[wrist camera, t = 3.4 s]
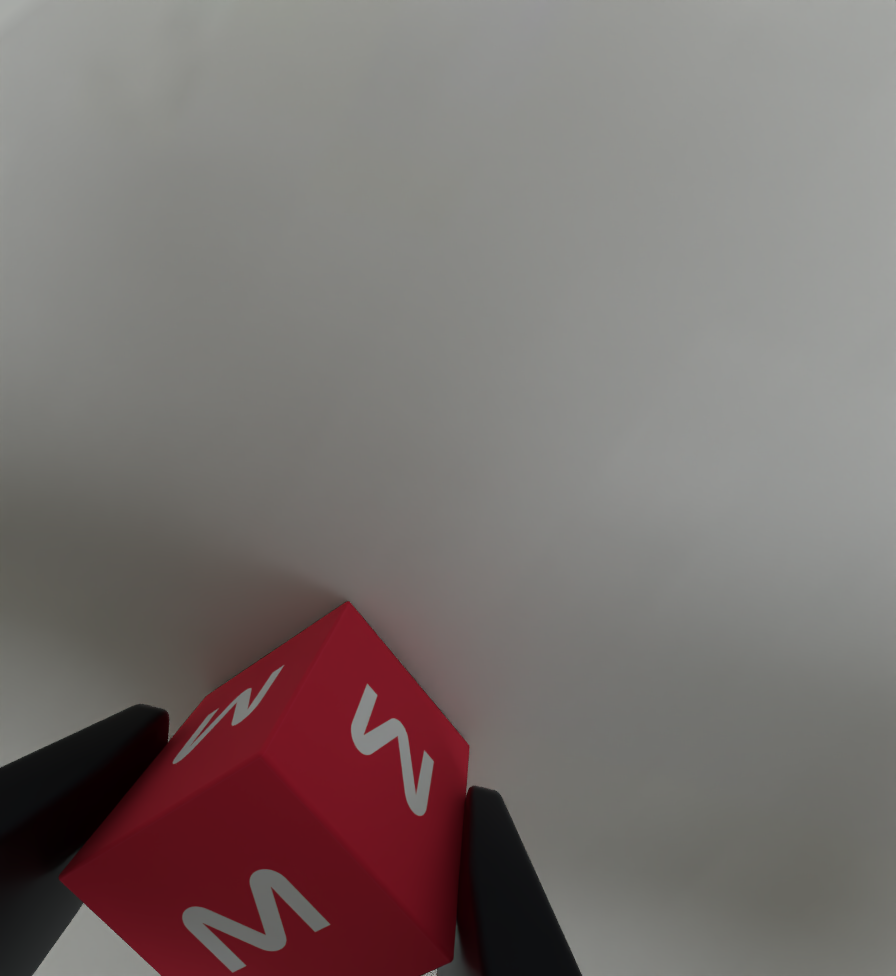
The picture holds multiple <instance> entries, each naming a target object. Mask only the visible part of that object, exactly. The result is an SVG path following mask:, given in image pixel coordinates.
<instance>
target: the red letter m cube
mask: <svg viewBox="0 0 896 976" xmlns="http://www.w3.org/2000/svg"><path fill="white" fill-rule="evenodd" d="M468 760H469V745H468V743H467V742H466V741H465V740H464V739H463V737H462V736H461V735H460V734H459V733H458V731H457V730H456V729H455V728H454V727H453V725H452V724H451V723H450V722H449V721H448V719H447V718H446V717H445V716H444V715H443V713H442V712H441V711H440V710H439V709H438V707H437V706H436V705H435V704H434V702H433V701H432V700H431V699H430V698H429V696H428V695H427V694H426V693H425V692H424V690H423V689H422V688H421V687H420V686H419V684H418V683H417V682H416V681H415V680H414V678H413V677H412V676H411V675H410V674H409V672H408V671H407V670H406V669H405V668H404V666H403V665H402V664H401V663H400V662H399V660H398V659H397V658H396V657H395V656H394V654H393V653H392V652H391V651H390V650H389V648H388V647H387V646H386V645H385V644H384V642H383V641H382V640H381V639H380V638H379V636H378V635H377V634H376V633H375V632H374V630H373V629H372V628H371V627H370V626H369V624H368V623H367V622H366V621H365V620H364V618H363V617H362V616H361V615H360V614H359V612H358V611H357V610H356V609H355V608H354V606H353V605H352V604H351V603H350V602H349V601H347V602H345V603H344V604H342V605H341V606H339V607H338V608H336V609H335V610H333V611H332V612H330V613H329V614H327V615H326V616H324V617H323V618H321V619H320V620H318V621H317V622H315V623H314V624H312V625H311V626H309V627H308V628H306V629H305V630H303V631H302V632H300V633H299V634H297V635H296V636H294V637H293V638H292V639H290V640H289V641H287V642H286V643H284V644H283V645H281V646H280V647H278V648H277V649H275V650H274V651H272V652H271V653H269V654H268V655H266V656H265V657H263V658H262V659H260V660H259V661H257V662H256V663H254V664H253V665H251V666H250V667H248V668H247V669H245V670H244V671H242V672H241V673H239V674H238V675H237V676H235V677H234V678H232V679H231V680H229V681H228V682H226V683H225V684H223V685H222V686H220V687H219V688H217V689H216V690H214V691H213V692H211V693H210V694H208V695H207V696H206V697H205V698H204V699H203V700H202V702H201V703H200V704H199V705H198V707H197V708H196V709H195V710H194V711H193V713H192V714H191V715H190V716H189V717H188V719H187V720H186V721H185V722H184V724H183V725H182V726H181V727H180V728H179V730H178V731H177V732H176V733H175V735H174V736H173V737H172V738H171V739H170V741H169V742H168V743H167V744H166V746H165V747H164V748H163V749H162V751H161V752H160V753H159V754H158V755H157V757H156V758H155V759H154V760H153V761H152V763H151V764H150V765H149V766H148V768H147V769H146V770H145V771H144V772H143V774H142V775H141V776H140V777H139V779H138V780H137V781H136V782H135V783H134V785H133V786H132V787H131V788H130V790H129V791H128V792H127V793H126V794H125V796H124V797H123V798H122V799H121V800H120V802H119V803H118V804H117V805H116V807H115V808H114V809H113V810H112V811H111V813H110V814H109V815H108V816H107V818H106V819H105V820H104V821H103V822H102V824H101V825H100V826H99V827H98V828H97V830H96V831H95V832H94V833H93V834H92V836H91V837H90V838H89V839H88V841H87V842H86V843H85V844H84V845H83V847H82V848H81V849H80V850H79V851H78V853H77V854H76V855H75V856H74V858H73V859H72V860H71V861H70V862H69V864H68V865H67V866H66V867H65V869H64V870H63V871H62V872H61V873H60V875H59V880H60V881H61V882H62V883H63V884H64V885H65V886H66V887H67V888H68V889H69V890H70V891H71V892H73V893H74V894H75V895H76V896H77V897H78V898H79V899H80V900H81V901H82V902H83V903H84V904H85V905H86V906H87V907H89V908H90V909H91V910H92V911H93V912H94V913H95V914H96V915H97V916H98V917H99V918H100V919H101V920H102V921H104V922H105V923H106V924H107V925H108V926H109V927H110V928H111V929H112V930H113V931H114V932H115V933H116V934H117V935H118V936H120V937H121V938H122V939H123V940H124V941H125V942H126V943H127V944H128V945H129V946H130V947H131V948H132V949H133V950H135V951H136V952H137V953H138V954H139V955H140V956H141V957H142V958H143V959H144V960H145V961H146V962H147V963H148V964H149V965H151V966H152V967H153V968H154V969H155V970H156V971H157V972H158V973H159V974H160V975H161V976H421V975H423V974H425V973H428V972H430V971H432V970H435V969H437V968H439V967H441V966H444V965H446V964H448V963H451V962H452V961H453V958H454V946H455V933H456V919H457V899H458V883H459V870H460V857H461V844H462V831H463V818H464V805H465V799H466V786H467V773H468Z"/></svg>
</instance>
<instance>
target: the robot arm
mask: <svg viewBox="0 0 896 976" xmlns="http://www.w3.org/2000/svg"><path fill="white" fill-rule="evenodd" d="M168 732H169V714H168V712H167V711H166V710H164V709H162V708H158V707H153V706H149V705H145V704H137V705H134V706H132V707H130V708H127V709H125V710H123V711H121V712H119V713H117V714H114V715H112V716H110V717H108V718H106V719H104V720H102V721H99V722H97V723H95V724H93V725H91V726H89V727H87V728H84V729H82V730H80V731H78V732H76V733H74V734H72V735H69V736H67V737H65V738H63V739H61V740H59V741H57V742H54V743H52V744H50V745H48V746H46V747H44V748H42V749H39V750H37V751H35V752H33V753H31V754H29V755H26V756H24V757H22V758H20V759H18V760H16V761H14V762H11V763H9V764H7V765H5V766H3V767H1V768H0V976H32V975H33V974H34V972H35V971H36V970H37V968H38V967H39V965H40V964H41V963H42V961H43V960H44V958H45V957H46V956H47V954H48V953H49V951H50V950H51V948H52V947H53V946H54V944H55V943H56V941H57V940H58V939H59V937H60V936H61V934H62V933H63V932H64V930H65V929H66V927H67V926H68V925H69V923H70V922H71V920H72V919H73V918H74V916H75V915H76V913H77V912H78V910H79V909H80V907H81V906H82V904H83V902H82V901H81V900H80V899H79V898H78V897H77V896H76V895H75V894H74V893H73V892H71V891H70V890H69V889H68V888H67V887H66V886H65V885H64V884H63V883H62V882H61V881H60V880H59V875H60V873H61V872H62V871H63V870H64V869H65V867H66V866H67V865H68V864H69V862H70V861H71V860H72V859H73V858H74V856H75V855H76V854H77V853H78V851H79V850H80V849H81V848H82V847H83V845H84V844H85V843H86V842H87V841H88V839H89V838H90V837H91V836H92V834H93V833H94V832H95V831H96V830H97V828H98V827H99V826H100V825H101V824H102V822H103V821H104V820H105V819H106V818H107V816H108V815H109V814H110V813H111V811H112V810H113V809H114V808H115V807H116V805H117V804H118V803H119V802H120V800H121V799H122V798H123V797H124V796H125V794H126V793H127V792H128V791H129V790H130V788H131V787H132V786H133V785H134V783H135V782H136V781H137V780H138V779H139V777H140V776H141V775H142V774H143V772H144V771H145V770H146V769H147V768H148V766H149V765H150V764H151V763H152V761H153V760H154V759H155V758H156V757H157V755H158V754H159V753H160V752H161V751H162V749H163V748H164V747H165V746H166V744H167V743H168ZM437 976H582V974H581V972H580V970H579V967H578V965H577V963H576V961H575V959H574V956H573V954H572V952H571V950H570V947H569V945H568V943H567V941H566V939H565V936H564V934H563V932H562V930H561V927H560V925H559V923H558V921H557V919H556V916H555V914H554V912H553V910H552V907H551V905H550V903H549V901H548V899H547V896H546V894H545V892H544V890H543V887H542V885H541V883H540V881H539V879H538V876H537V874H536V872H535V870H534V867H533V865H532V863H531V861H530V859H529V856H528V854H527V852H526V850H525V848H524V845H523V843H522V841H521V839H520V836H519V834H518V832H517V830H516V828H515V825H514V823H513V821H512V819H511V816H510V814H509V812H508V810H507V808H506V805H505V803H504V801H503V799H502V797H501V795H500V794H499V793H498V792H497V791H495V790H491V789H487V788H483V787H479V786H471V787H470V788H469V790H468V792H467V795H466V799H465V805H464V818H463V831H462V844H461V857H460V870H459V883H458V899H457V919H456V933H455V946H454V958H453V961H452V962H451V963H448V964H446V965H444V966H441V967H439V968H438V969H437Z"/></svg>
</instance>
